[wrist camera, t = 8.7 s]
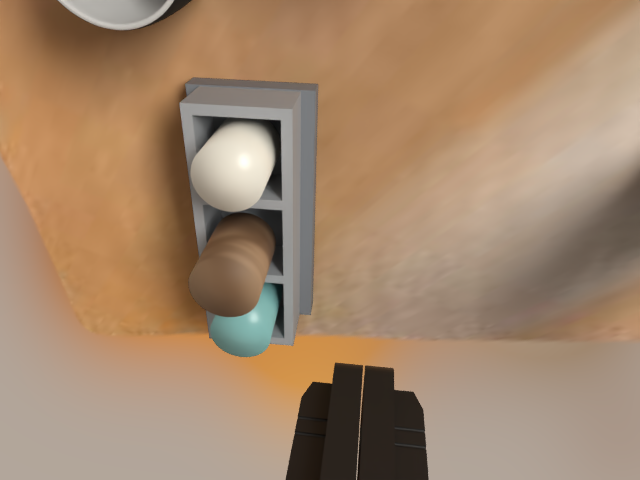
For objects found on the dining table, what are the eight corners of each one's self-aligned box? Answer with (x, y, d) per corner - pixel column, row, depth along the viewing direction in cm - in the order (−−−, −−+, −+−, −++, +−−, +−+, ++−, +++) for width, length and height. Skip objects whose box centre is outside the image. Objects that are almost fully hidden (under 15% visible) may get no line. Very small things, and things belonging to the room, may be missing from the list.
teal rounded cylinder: (282, 266, 43) (269, 314, 38) (283, 309, 46) (271, 359, 41) (228, 262, 44) (207, 308, 38) (232, 305, 46) (213, 354, 41)
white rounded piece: (280, 113, 36) (263, 145, 30) (281, 175, 39) (265, 214, 33) (214, 110, 36) (186, 140, 31) (220, 171, 39) (194, 209, 33)
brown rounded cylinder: (275, 214, 37) (258, 262, 32) (276, 267, 40) (261, 319, 34) (211, 210, 38) (184, 256, 32) (217, 263, 40) (192, 314, 35)
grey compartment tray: (318, 84, 38) (308, 108, 32) (312, 302, 49) (305, 347, 44) (193, 77, 38) (163, 100, 33) (217, 294, 50) (197, 338, 45)
